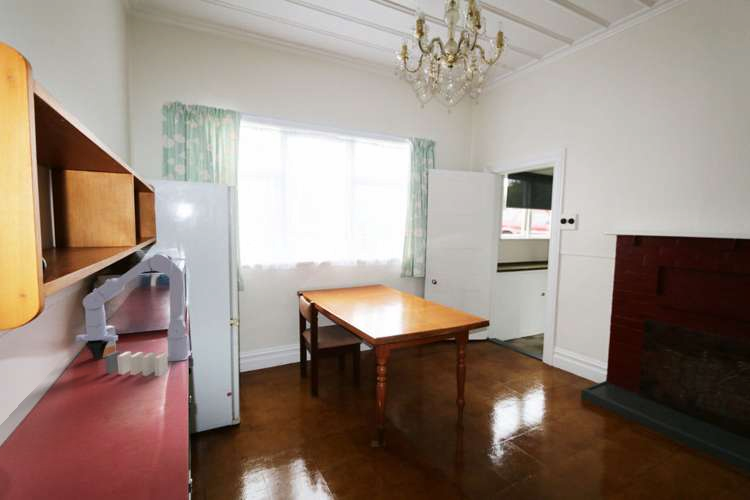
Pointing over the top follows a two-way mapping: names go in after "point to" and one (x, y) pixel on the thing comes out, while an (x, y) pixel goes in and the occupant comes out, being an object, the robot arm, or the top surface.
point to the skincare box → (111, 345)
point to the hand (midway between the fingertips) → (98, 359)
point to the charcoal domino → (112, 362)
